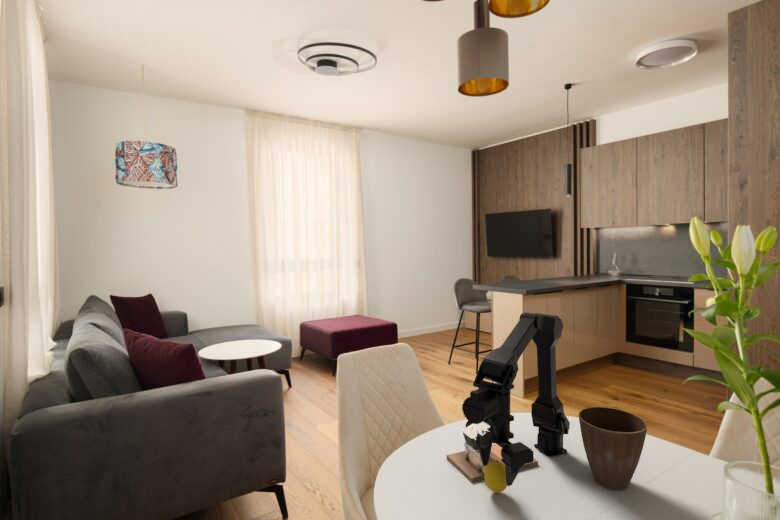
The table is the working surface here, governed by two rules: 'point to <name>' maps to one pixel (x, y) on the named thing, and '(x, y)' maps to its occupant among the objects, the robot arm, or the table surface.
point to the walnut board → (475, 464)
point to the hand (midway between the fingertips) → (496, 474)
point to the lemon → (495, 476)
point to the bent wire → (475, 452)
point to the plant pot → (612, 444)
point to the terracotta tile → (496, 450)
